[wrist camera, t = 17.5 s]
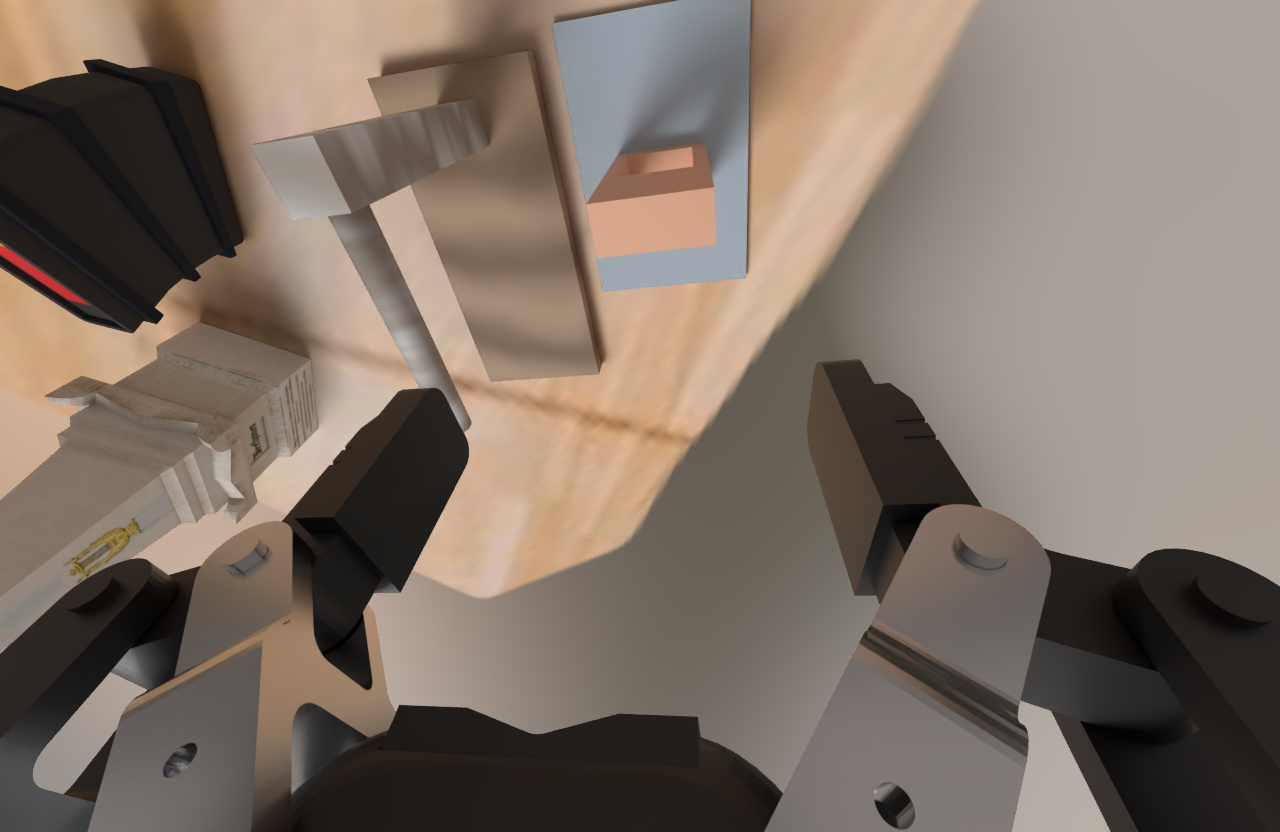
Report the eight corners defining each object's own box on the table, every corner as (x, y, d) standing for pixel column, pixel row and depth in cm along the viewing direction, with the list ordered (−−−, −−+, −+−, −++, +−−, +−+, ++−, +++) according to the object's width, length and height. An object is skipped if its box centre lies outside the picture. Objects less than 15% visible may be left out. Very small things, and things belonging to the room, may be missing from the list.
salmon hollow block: (617, 154, 29) (585, 204, 20) (704, 141, 28) (714, 187, 19) (623, 194, 31) (596, 258, 21) (706, 183, 30) (716, 244, 20)
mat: (553, 23, 26) (551, 23, 25) (749, -13, 24) (750, -14, 24) (603, 288, 36) (602, 291, 35) (745, 275, 34) (746, 278, 34)
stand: (380, 77, 28) (116, 100, 15) (533, 50, 27) (388, 50, 14) (496, 372, 42) (410, 518, 29) (601, 365, 40) (561, 515, 27)
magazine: (163, 16, 26) (-61, 193, 19) (280, 204, 37) (165, 352, 31) (90, -8, 25) (-164, 165, 19) (232, 190, 37) (106, 337, 31)
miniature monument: (323, 433, 49) (-10, 783, 25) (217, 400, 47) (-246, 746, 23) (315, 357, 42) (-137, 732, 19) (192, 316, 40) (-476, 675, 17)
